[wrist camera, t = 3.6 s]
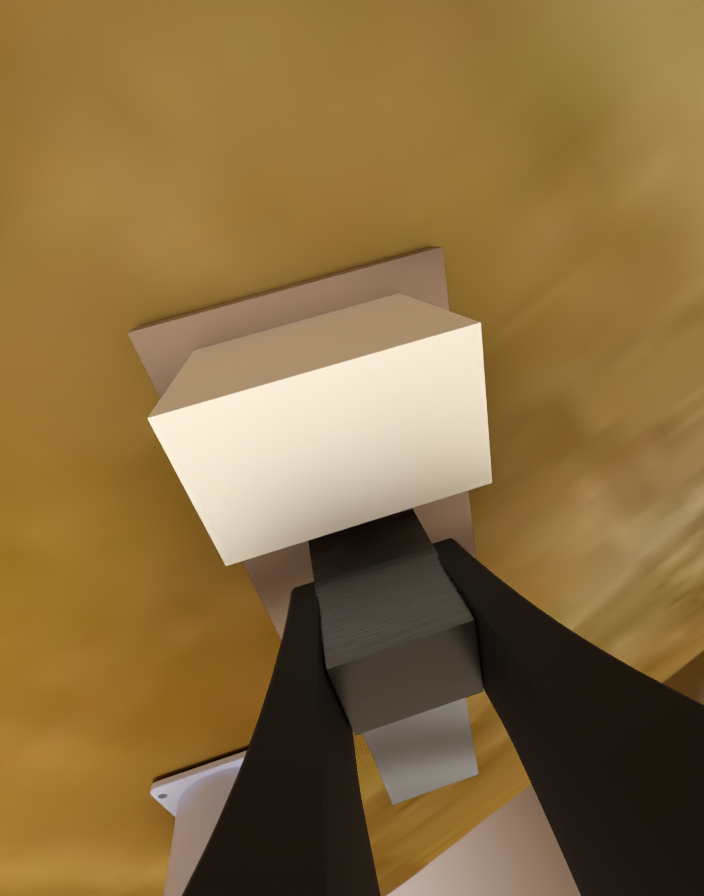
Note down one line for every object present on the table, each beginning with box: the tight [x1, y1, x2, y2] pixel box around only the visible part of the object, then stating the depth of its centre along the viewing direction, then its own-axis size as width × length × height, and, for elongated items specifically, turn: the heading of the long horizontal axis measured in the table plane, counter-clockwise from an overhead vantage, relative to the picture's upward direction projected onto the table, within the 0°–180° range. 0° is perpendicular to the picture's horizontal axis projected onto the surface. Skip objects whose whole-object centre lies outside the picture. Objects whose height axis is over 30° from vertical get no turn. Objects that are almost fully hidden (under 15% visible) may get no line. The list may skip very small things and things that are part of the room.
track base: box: [128, 247, 478, 805], centre depth 17 cm, size 24×10×5 cm, turn 13°
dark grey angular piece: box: [308, 508, 483, 735], centre depth 13 cm, size 14×3×8 cm, turn 13°
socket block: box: [147, 293, 492, 566], centre depth 11 cm, size 4×7×6 cm, turn 104°
